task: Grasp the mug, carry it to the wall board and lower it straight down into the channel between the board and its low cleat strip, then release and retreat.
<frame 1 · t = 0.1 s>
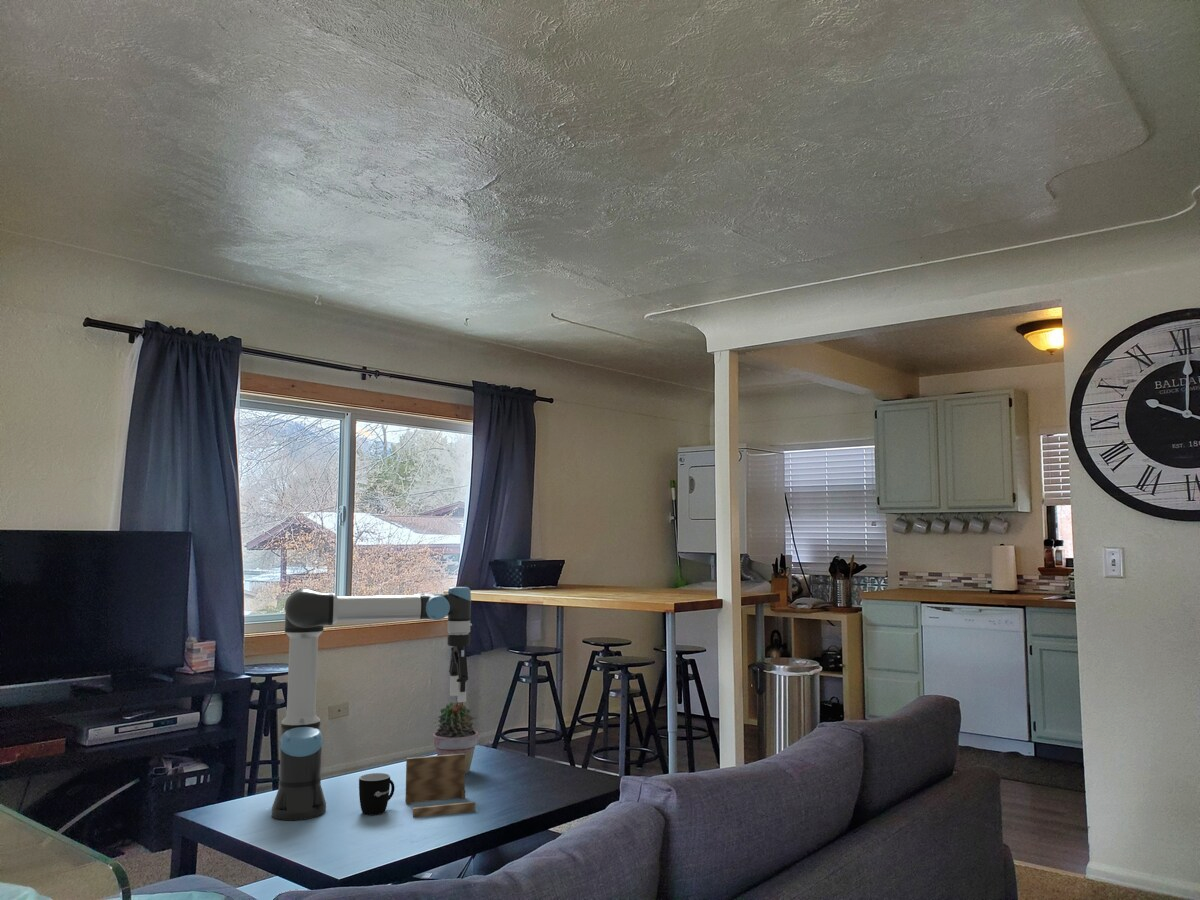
hand: (457, 698, 289), 28 cm above the table, fingers open, 13 cm apart
cleat board: (438, 804, 265), on the table
potted plant: (453, 772, 305), on the table
mug: (377, 811, 258), on the table
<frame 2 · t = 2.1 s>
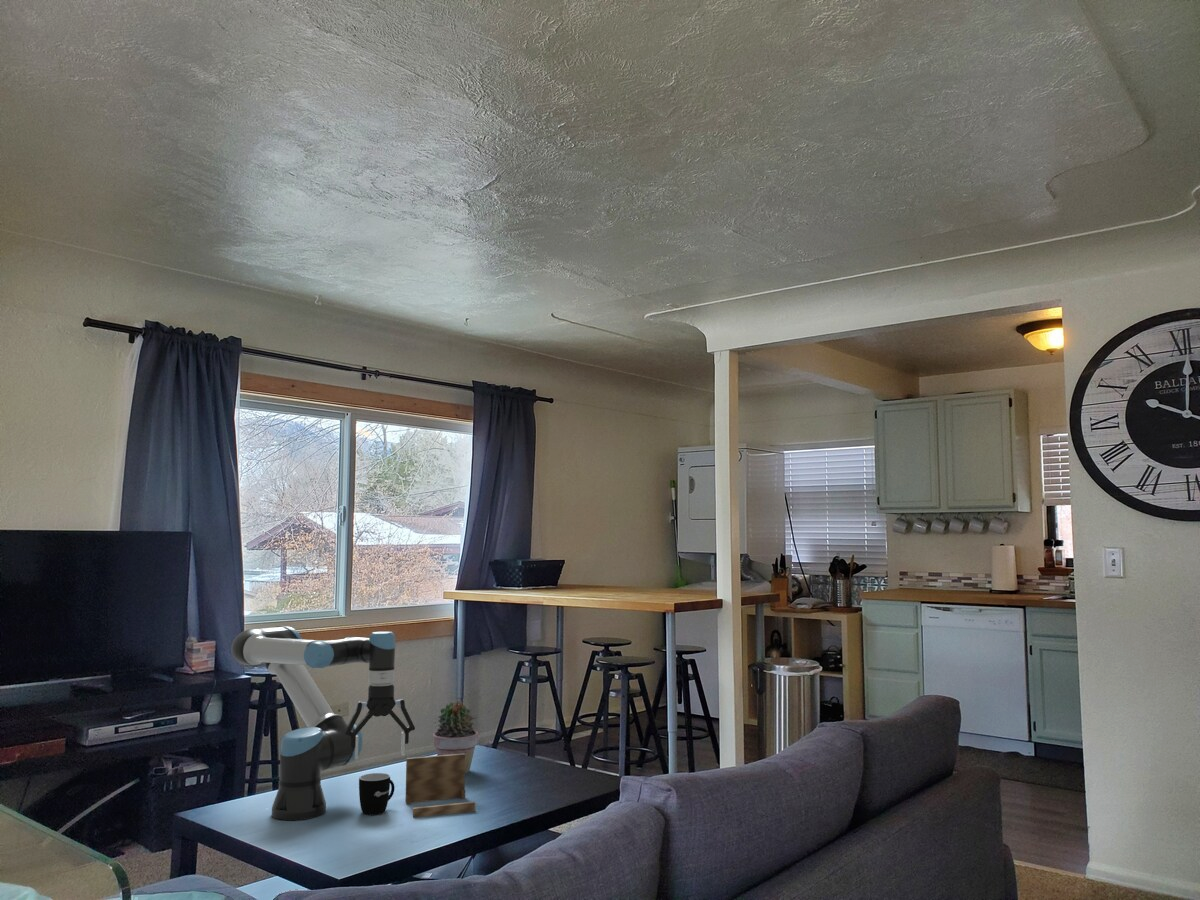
hand: (379, 757, 260), 15 cm above the table, fingers open, 13 cm apart
nothing on the table moved.
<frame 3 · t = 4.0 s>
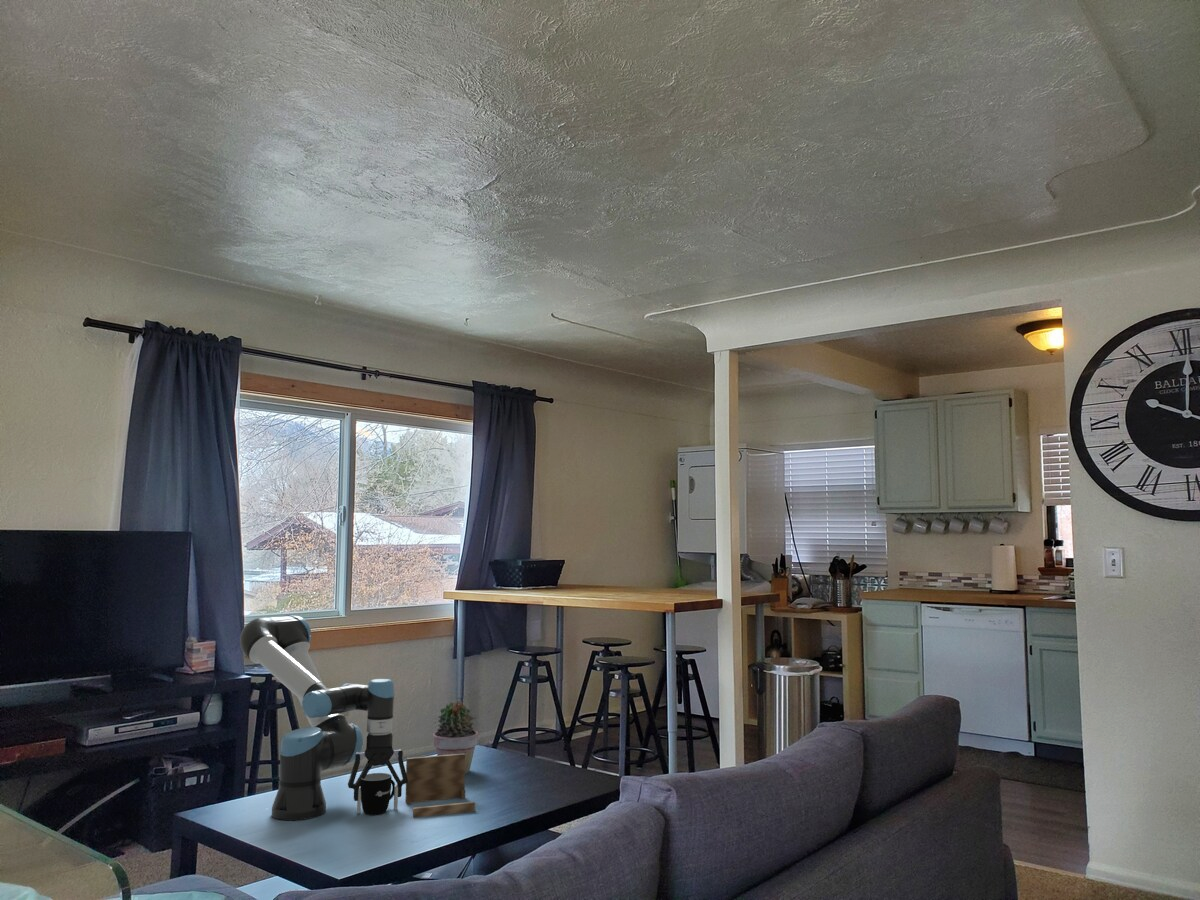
hand: (377, 810, 258), 0 cm above the table, fingers closed on mug, 10 cm apart
mug: (379, 811, 258), on the table, touching gripper
everything else where it was.
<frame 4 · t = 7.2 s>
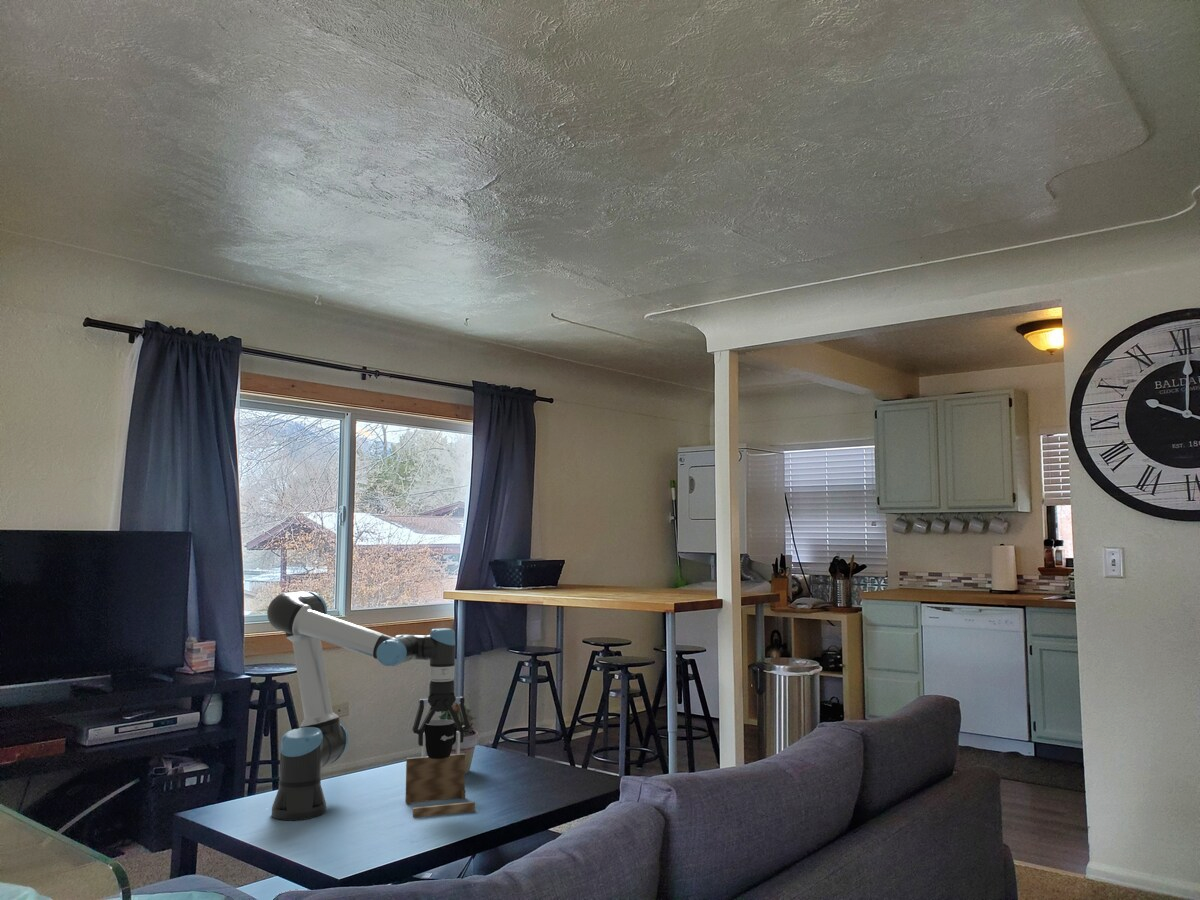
hand: (440, 755, 264), 15 cm above the table, fingers closed on mug, 10 cm apart
mug: (442, 756, 265), point 15 cm above the table, touching gripper
everything else where it was.
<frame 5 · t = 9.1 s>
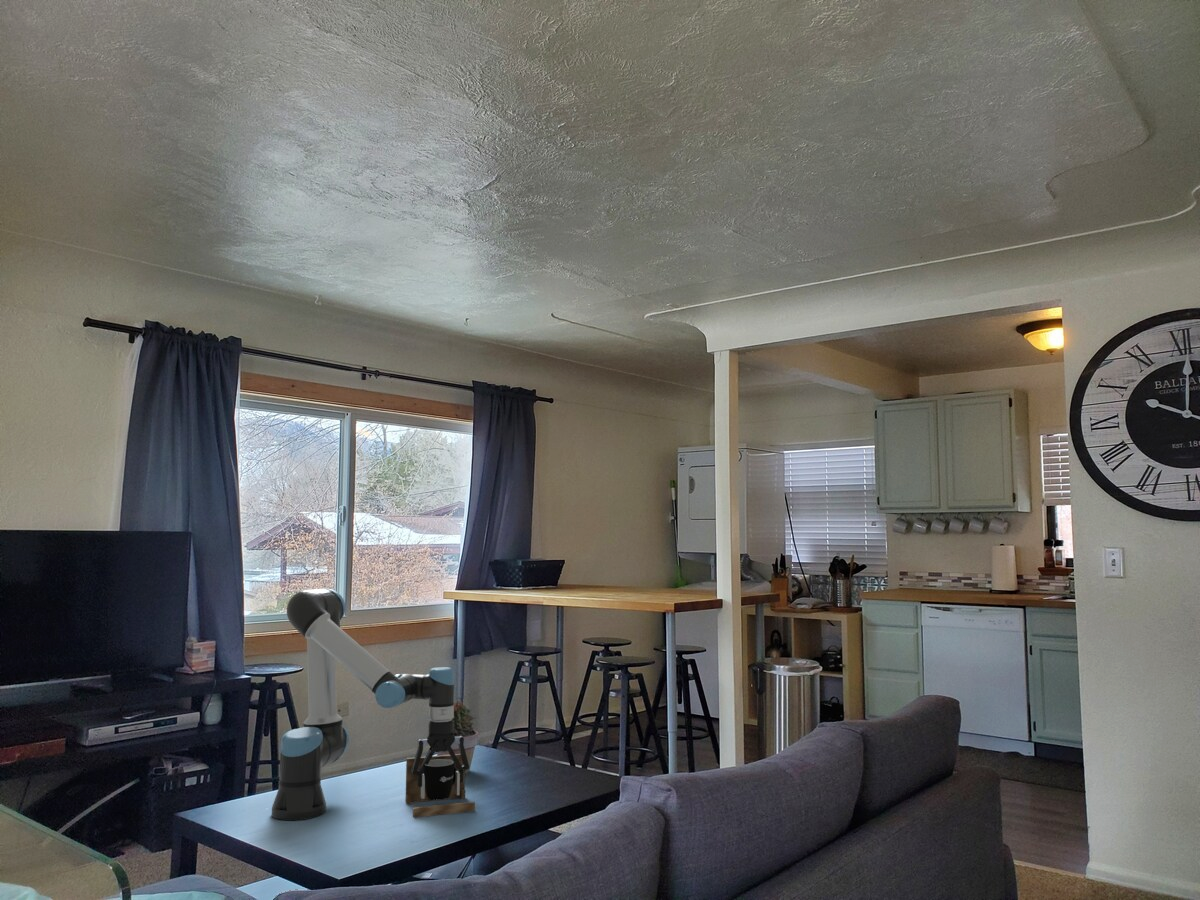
hand: (440, 795, 263), 3 cm above the table, fingers closed on mug, 10 cm apart
mug: (441, 796, 263), point 3 cm above the table, touching gripper
everything else where it was.
when the fingers open (2 cm above the table, at t = 10.4 s): mug drops 1 cm, on the table.
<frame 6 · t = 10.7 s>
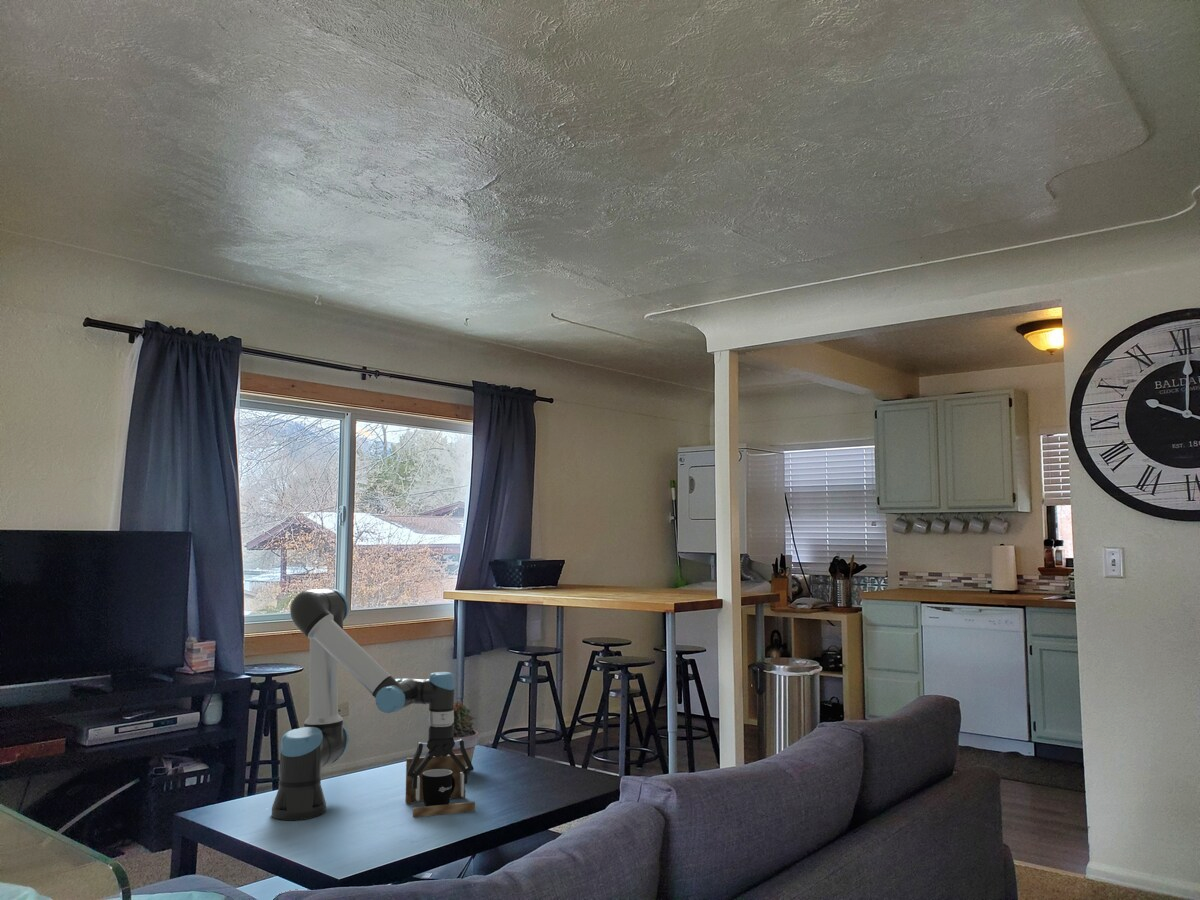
hand: (439, 797, 263), 3 cm above the table, fingers open, 13 cm apart
mug: (440, 806, 263), on the table
everything else where it was.
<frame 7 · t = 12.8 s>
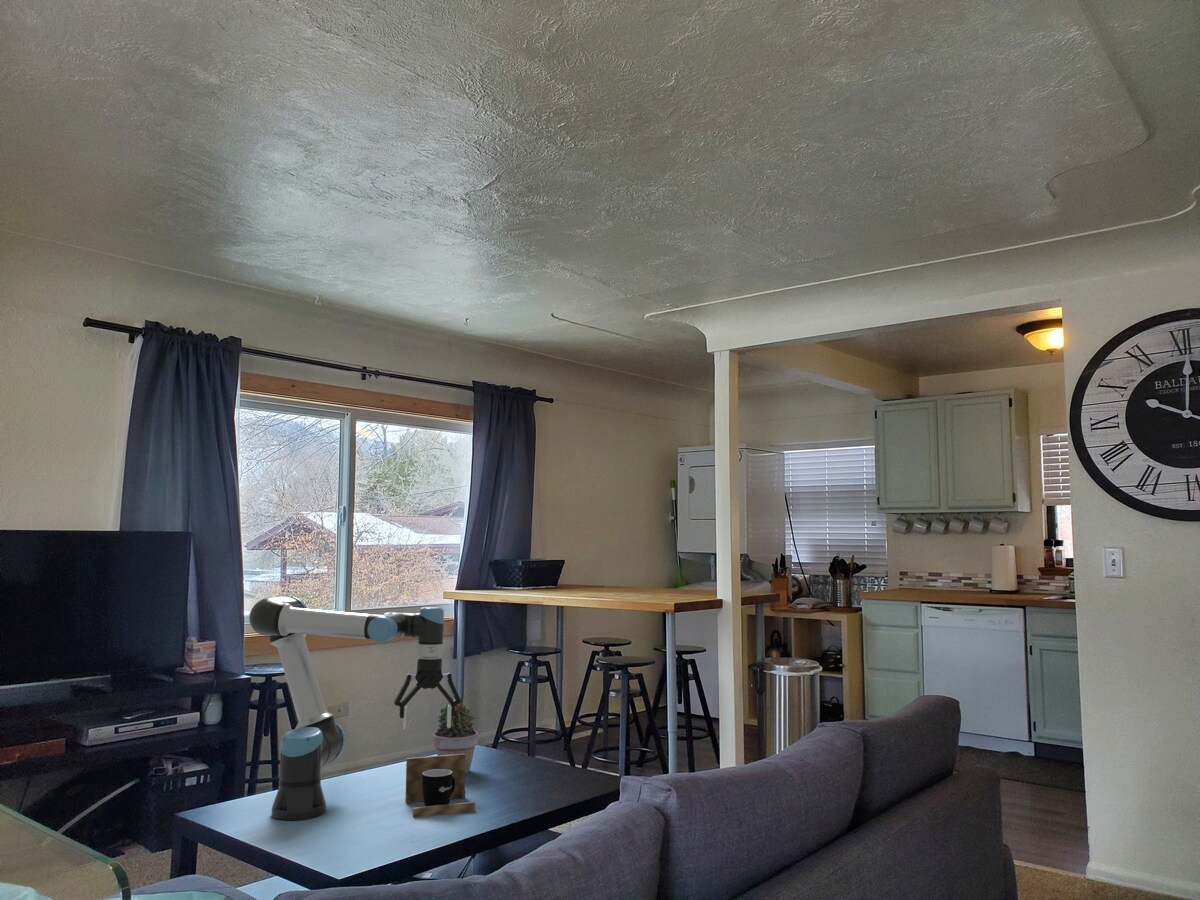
hand: (426, 728, 268), 22 cm above the table, fingers open, 13 cm apart
nothing on the table moved.
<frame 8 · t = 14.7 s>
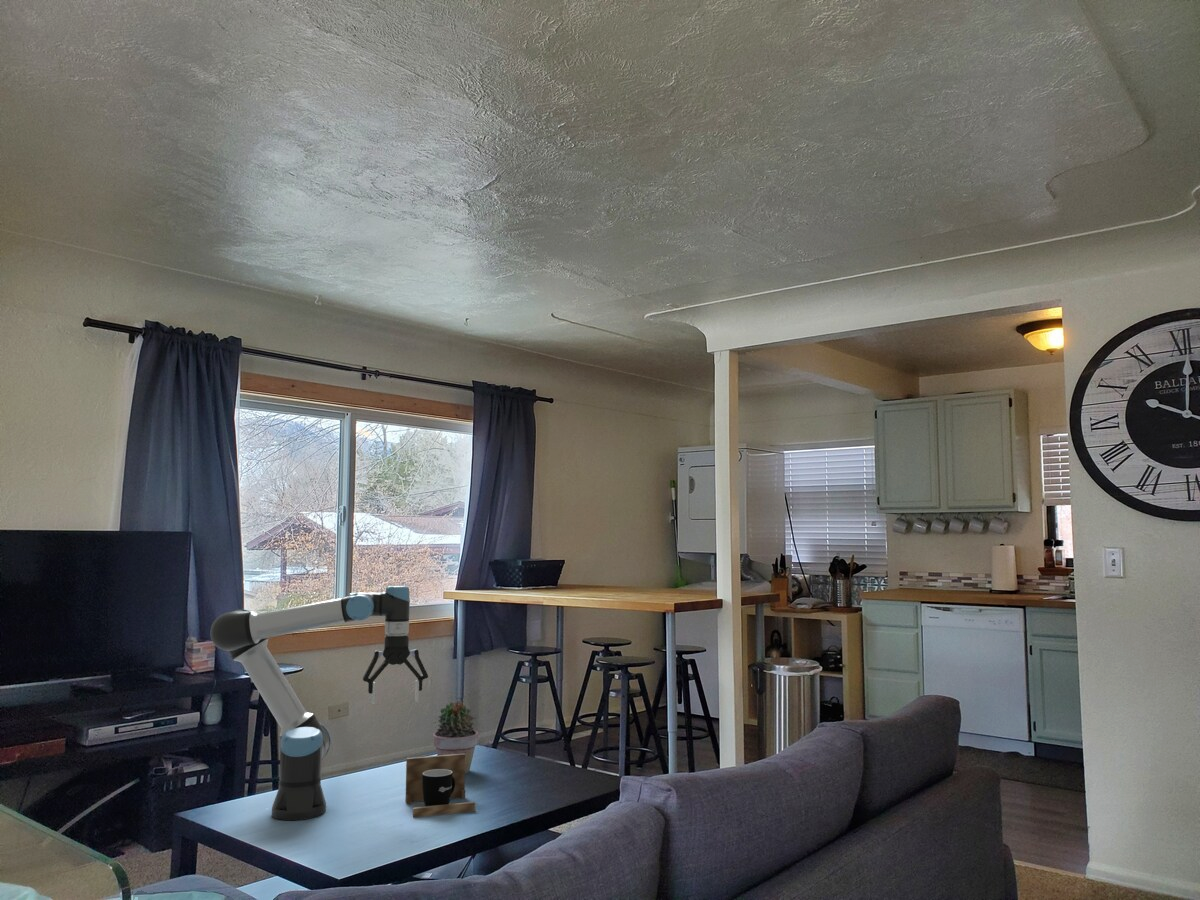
hand: (395, 702, 277), 29 cm above the table, fingers open, 13 cm apart
nothing on the table moved.
at the end: mug inside the target area on the cleat board (0.3 cm from its centre), point 0.0 cm above the cleat board's base; mug tilted 0°; the gripper is holding nothing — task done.
